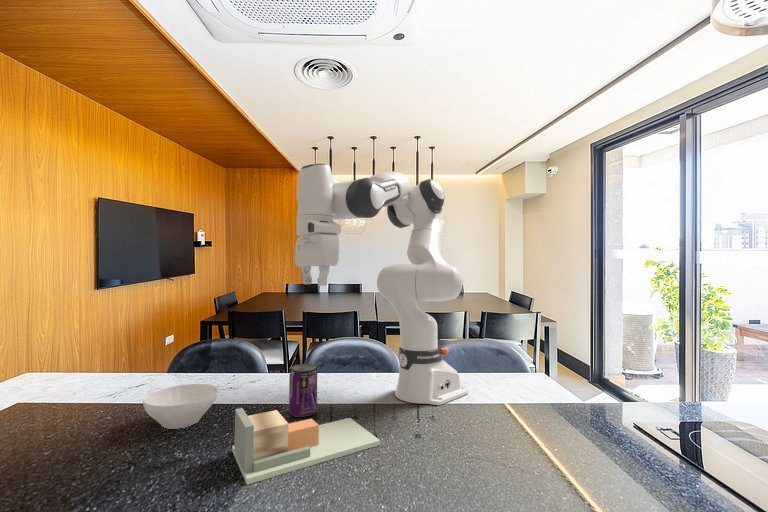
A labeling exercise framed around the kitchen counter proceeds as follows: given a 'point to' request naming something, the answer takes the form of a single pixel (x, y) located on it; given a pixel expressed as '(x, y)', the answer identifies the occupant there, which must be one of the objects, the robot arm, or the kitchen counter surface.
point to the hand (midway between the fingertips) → (314, 284)
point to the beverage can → (303, 390)
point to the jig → (332, 444)
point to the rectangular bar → (303, 434)
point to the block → (269, 434)
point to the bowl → (180, 404)
